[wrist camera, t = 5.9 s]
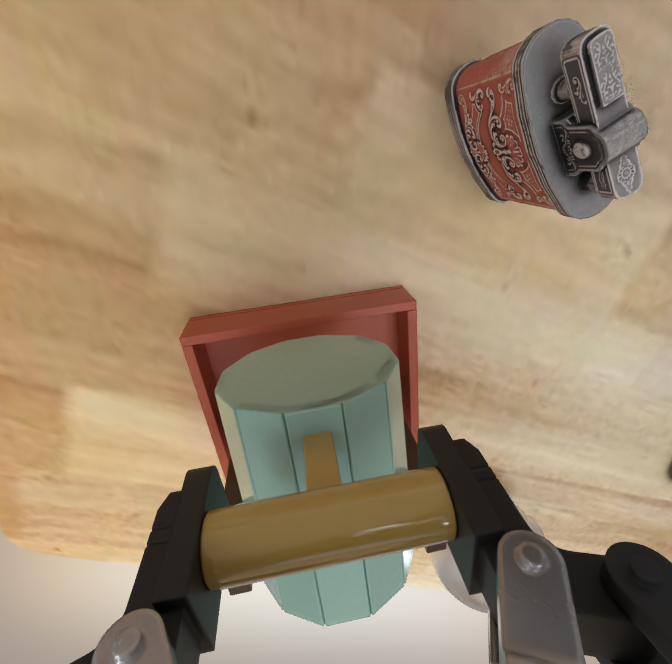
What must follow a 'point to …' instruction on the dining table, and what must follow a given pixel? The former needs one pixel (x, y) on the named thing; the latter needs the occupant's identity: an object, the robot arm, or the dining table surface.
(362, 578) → the green barrel with handle
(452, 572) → the baroque pearl
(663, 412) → the dining table surface
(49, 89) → the dining table surface
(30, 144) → the dining table surface
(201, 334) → the tray
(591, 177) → the lighter
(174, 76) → the dining table surface
